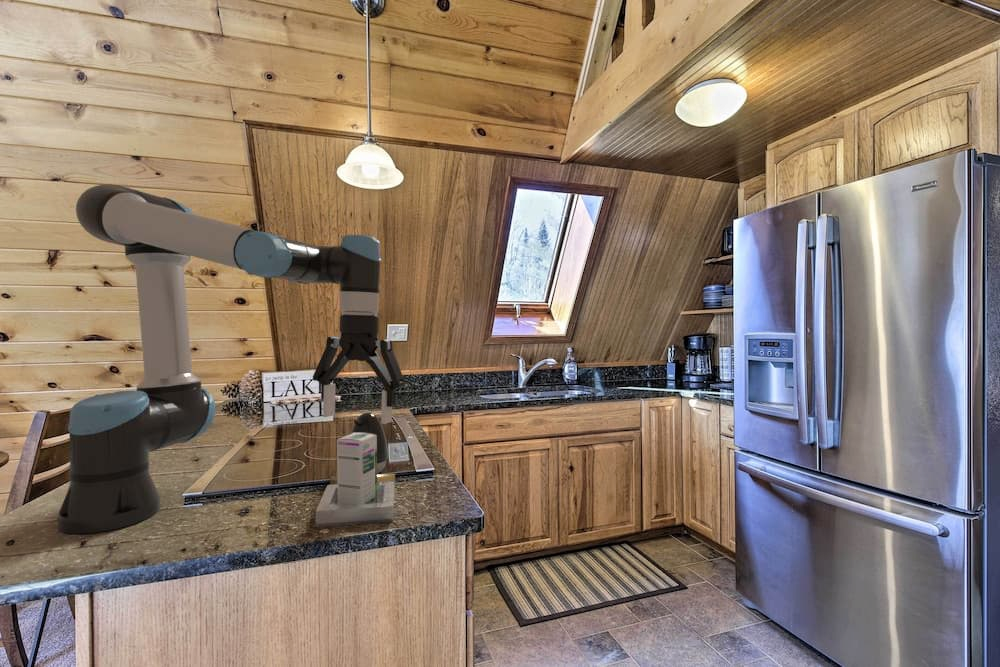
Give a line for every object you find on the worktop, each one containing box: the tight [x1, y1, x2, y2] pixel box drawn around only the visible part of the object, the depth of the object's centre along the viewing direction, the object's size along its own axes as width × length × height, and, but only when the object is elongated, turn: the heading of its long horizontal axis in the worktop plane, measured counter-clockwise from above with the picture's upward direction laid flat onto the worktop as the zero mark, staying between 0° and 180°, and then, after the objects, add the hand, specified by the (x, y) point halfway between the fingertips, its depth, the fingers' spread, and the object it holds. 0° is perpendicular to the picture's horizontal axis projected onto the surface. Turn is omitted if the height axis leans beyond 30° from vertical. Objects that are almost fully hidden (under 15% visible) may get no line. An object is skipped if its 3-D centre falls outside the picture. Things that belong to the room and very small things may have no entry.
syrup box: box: [336, 433, 378, 506], centre depth 96 cm, size 6×6×14 cm
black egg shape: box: [350, 412, 389, 474], centre depth 119 cm, size 10×10×15 cm
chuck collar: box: [315, 481, 395, 528], centre depth 96 cm, size 14×14×3 cm
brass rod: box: [329, 473, 396, 488], centre depth 108 cm, size 14×3×3 cm, turn 101°
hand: (357, 419), depth 96 cm, fingers open, 13 cm apart
